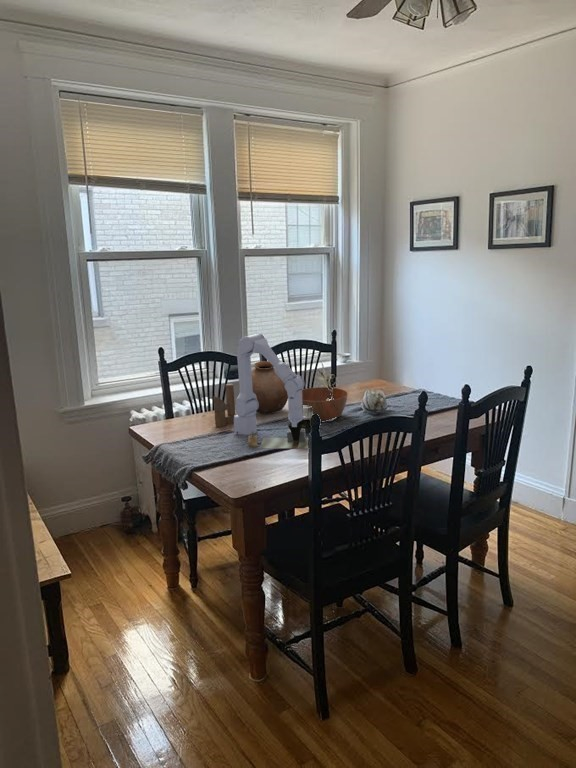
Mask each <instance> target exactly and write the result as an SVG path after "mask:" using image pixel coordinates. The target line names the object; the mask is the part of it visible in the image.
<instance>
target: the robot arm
mask: <svg viewBox="0 0 576 768" xmlns="http://www.w3.org/2000/svg"><path fill="white" fill-rule="evenodd" d="M254 354H258V355H259V354H261V355H262V356H263V357H264V358H265V359H266V361H269V362H270V363H271V364H272V365H273V366H274V368H275V370H274V371H275V373H276V374H277V375H278V376H279V378H280V379H281V380H282V381H283V382H284V384H285V385H284V386H285V389H286V391H287V395H288V400H287V403H288V421H289V422H290V423H288V424H287V426H288V429H290V430H291V433H292V437H293V440H294V441H299V436H300V430H301V428H303V423H304V421H305V419H306V416H303V403H302V390H303V389H304V387H305V385H306V383H305V379H304V378H303V376H301V375H298V374H297V373H296V372H295V371H293V370H292V368H291V367H290V365H289V364H288V363H286V362H285V361H284V362H283V361H281V360H280V359H279V357H278V356H277V355H276V353H275V351H274V350H273V349H272V348H271V347H270V345H269V342H268V339H267V338H265V336H264V335H263V334H262V333H259V332H257V333H254V334H251V335H245V336H242V337H241V339H239V340H238V347H237V351H236V359H237V369H238V370H237V371H238V385H239V394H238V396H237V397H236V399H235V414H237V415H235V416H234V423H233V433H234V435H244V436H247V435H248V436H251V435H252V434H251V432H253V434H254V435H255V434H257V432H258V431H257V430H258V428H257V412H256V410H257V409H258V408H259V403H258V401H257V397H256V394H254V393H253V388H252V373H251V371H252V360H251V359H252V358H251V356H252V355H254Z"/></svg>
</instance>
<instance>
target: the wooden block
mask: <svg viewBox="0 0 576 768" xmlns="http://www.w3.org/2000/svg"><path fill="white" fill-rule="evenodd" d="M234 389H235V388H234V383H226V384H225V395H226V397H225V398H226V403H225V402H224V401H223V399H221V398H220V397H219V396H215V395H214V396H213V397H212V398H213V411H214V423H215V427H218V428H223V427H225V426H227V425H231V424H234V416H235V415H238V414H237V413H236V411H235V405H236V402H235V391H234ZM226 411H227V412H226ZM226 413H227V414H226Z"/></svg>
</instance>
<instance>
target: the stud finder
mask: <svg viewBox="0 0 576 768" xmlns="http://www.w3.org/2000/svg"><path fill="white" fill-rule="evenodd" d="M286 438H287V442H305V439H306V438H307V437H306V428H304V427H301V430H300V436H299V441H294V440H293V437H292V433H291V430H290V429H289V428H288V429H287V431H286Z"/></svg>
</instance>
